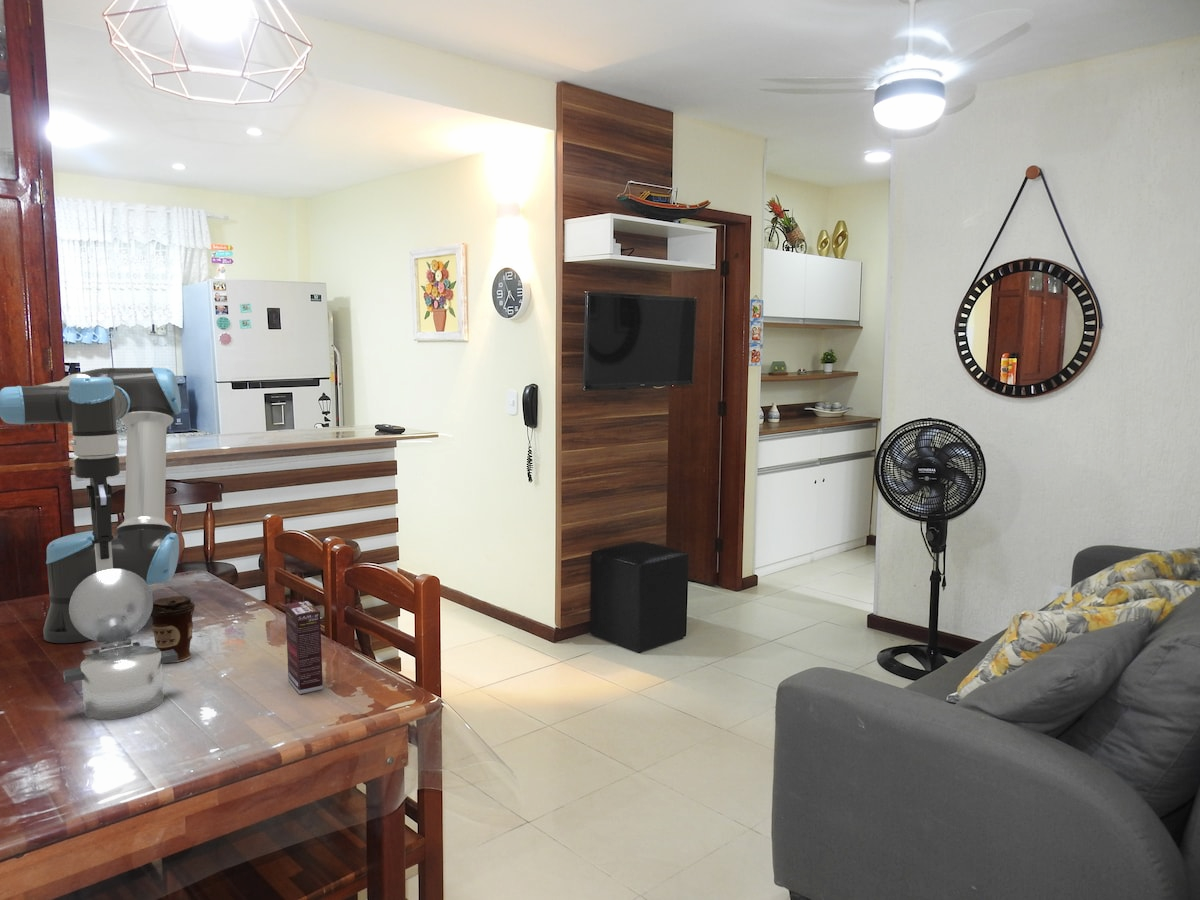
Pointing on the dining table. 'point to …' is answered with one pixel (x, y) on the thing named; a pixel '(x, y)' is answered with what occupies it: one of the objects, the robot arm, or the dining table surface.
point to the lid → (111, 607)
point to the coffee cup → (173, 625)
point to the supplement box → (304, 647)
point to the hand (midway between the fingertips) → (105, 573)
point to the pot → (121, 681)
